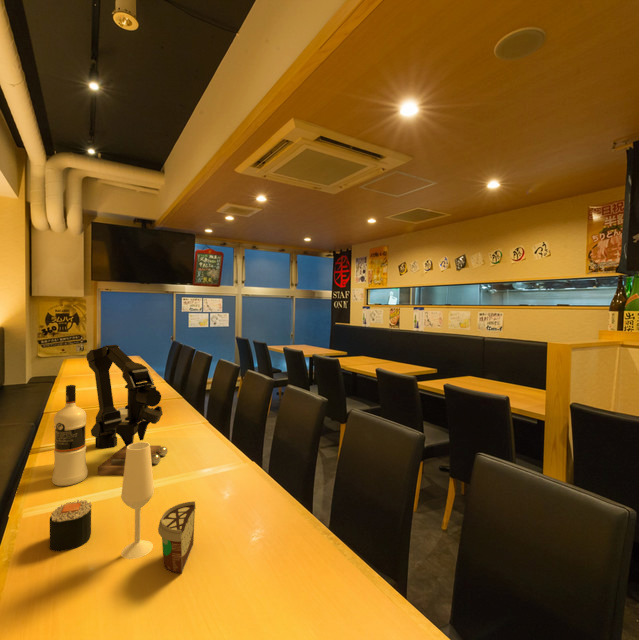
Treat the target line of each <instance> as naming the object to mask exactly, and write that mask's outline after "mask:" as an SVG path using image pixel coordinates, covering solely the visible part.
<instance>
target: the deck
mask: <svg viewBox="0 0 639 640" xmlns="http://www.w3.org/2000/svg"><path fill="white" fill-rule="evenodd" d="M160 447H162V446H161V445H151V444H150V450H151V456H152V455H154V454H158V449H159V448H160ZM126 449H127V447H126V445H125V444H124V446H123V447H122V448H119V450H117V451H116V452H114V454H113V455H111V456H109V458H107V459H106V460H105V461H104V462H102V463H101V464H99V466H97V475H98V476H124V468H125V459H126Z"/></svg>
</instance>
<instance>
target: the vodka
mask: <svg viewBox="0 0 639 640" xmlns="http://www.w3.org/2000/svg"><path fill="white" fill-rule="evenodd" d="M76 389H77V387H76V385H75V384H69V385H66V386H65V406H64V407H63V408H61V409H60V410H58V411H57V412H56V413H55V415H54V418H53V422H54V423H53V424H54V425H53V428H54V451H53V454H54V455H53V456H54V463H53V464H54V465H53V473H52V476H51V482H52V483H53V485H56V486H58V487H68V486H74V485H76V484H78V483H81V482H83V481H84V480H86V478H87V477H88V475H89V470H88V467H87V460H86V459H87V457H86V453H87V452H86V451H87V445H86V424H87V413H86V411H85V409H83V408H81V407H80V406H77V405H76V399H77V398H76V395H77V394H76V391H77V390H76Z"/></svg>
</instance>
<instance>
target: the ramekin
mask: <svg viewBox="0 0 639 640" xmlns="http://www.w3.org/2000/svg"><path fill="white" fill-rule="evenodd" d="M115 409H116V408H115ZM116 410H117V411H118V410H119V411H120V412H121V419H122V422H129V421H125V418H126V417H127V409H125V406H122V407H119V408H117V409H116Z"/></svg>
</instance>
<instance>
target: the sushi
mask: <svg viewBox="0 0 639 640" xmlns="http://www.w3.org/2000/svg"><path fill="white" fill-rule="evenodd" d="M92 506H93V504H92V502H91V501H89V502H88V500H79V499H76V501H75V500H74V501H69V502H66V503H64V504H61V505H60V506H57V508H55V510H53V511H52V512H51V514H50V517H49V550H50V551H52V552H64V551H68V550H69V551H70V550H73V549H77V548H79V547H81V546H83V545H86V543H88V542H89V540H90V538H91V535H92Z"/></svg>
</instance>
